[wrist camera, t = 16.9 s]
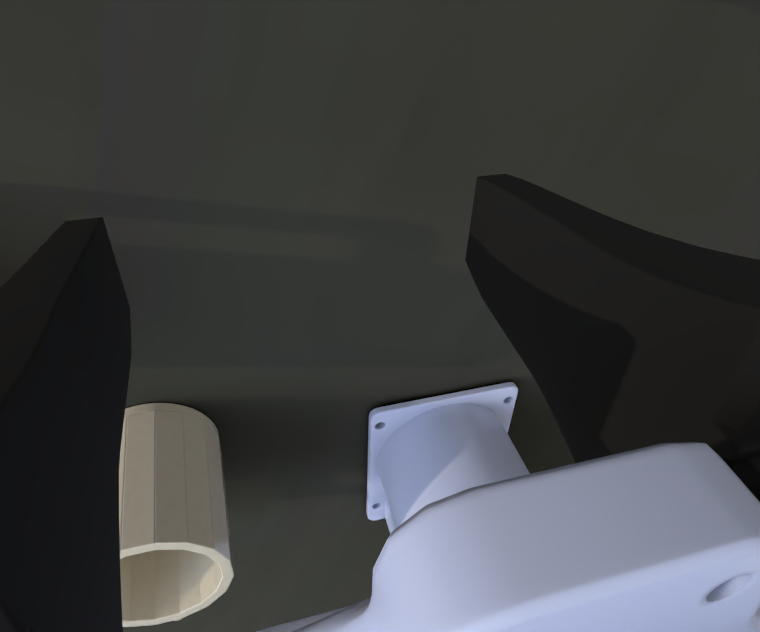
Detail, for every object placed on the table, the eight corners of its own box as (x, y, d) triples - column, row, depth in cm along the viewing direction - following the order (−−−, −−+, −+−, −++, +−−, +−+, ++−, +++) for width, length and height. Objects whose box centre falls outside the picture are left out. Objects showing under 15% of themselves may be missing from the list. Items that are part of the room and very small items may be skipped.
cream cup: (69, 416, 25) (47, 567, 20) (209, 391, 26) (222, 527, 21) (116, 522, 30) (108, 664, 25) (233, 497, 32) (247, 627, 27)
